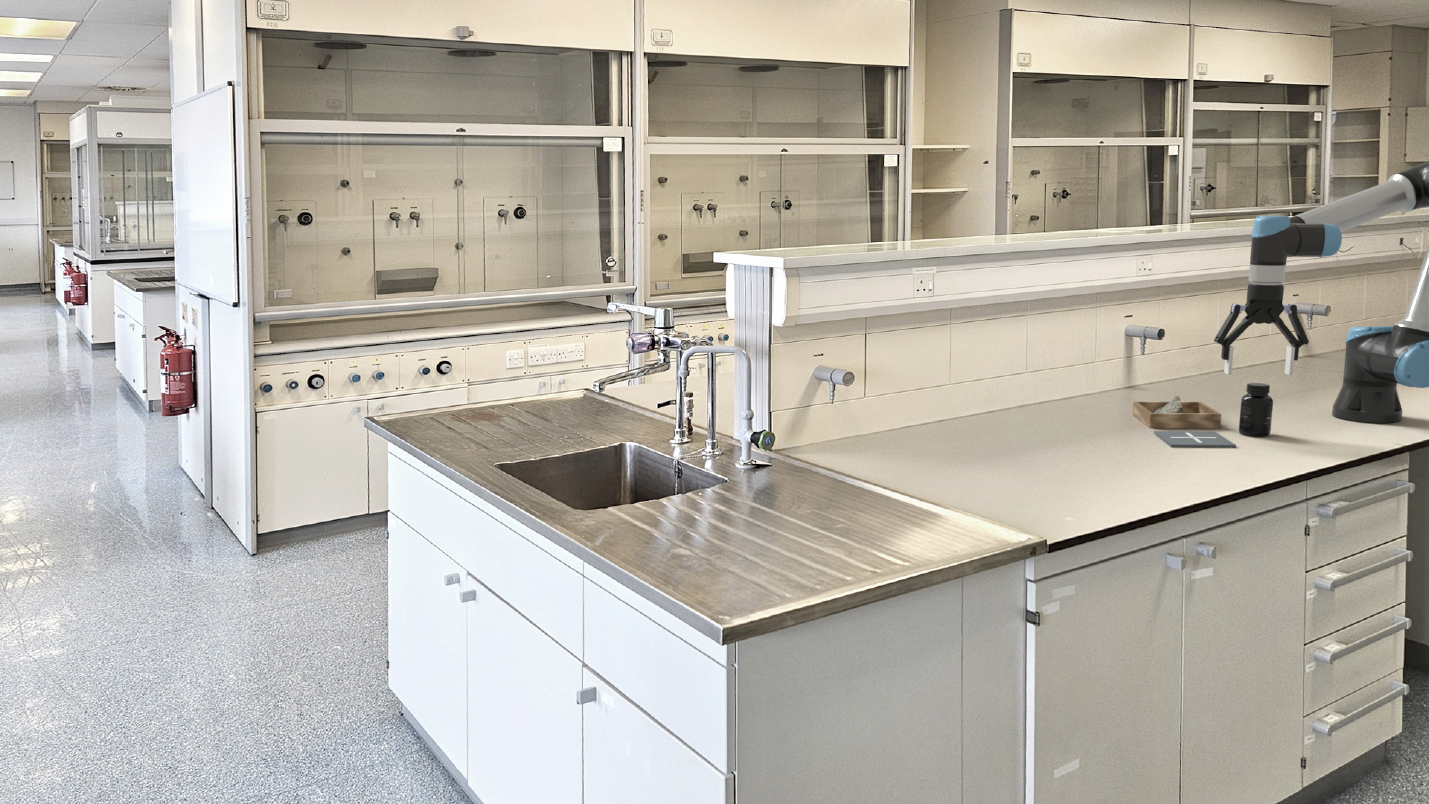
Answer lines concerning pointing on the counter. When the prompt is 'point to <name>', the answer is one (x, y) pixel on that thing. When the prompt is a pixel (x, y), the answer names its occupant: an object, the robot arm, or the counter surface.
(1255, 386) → the supplement bottle
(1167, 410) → the rock sample
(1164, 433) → the rest mat
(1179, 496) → the counter surface
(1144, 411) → the tray
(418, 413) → the counter surface
